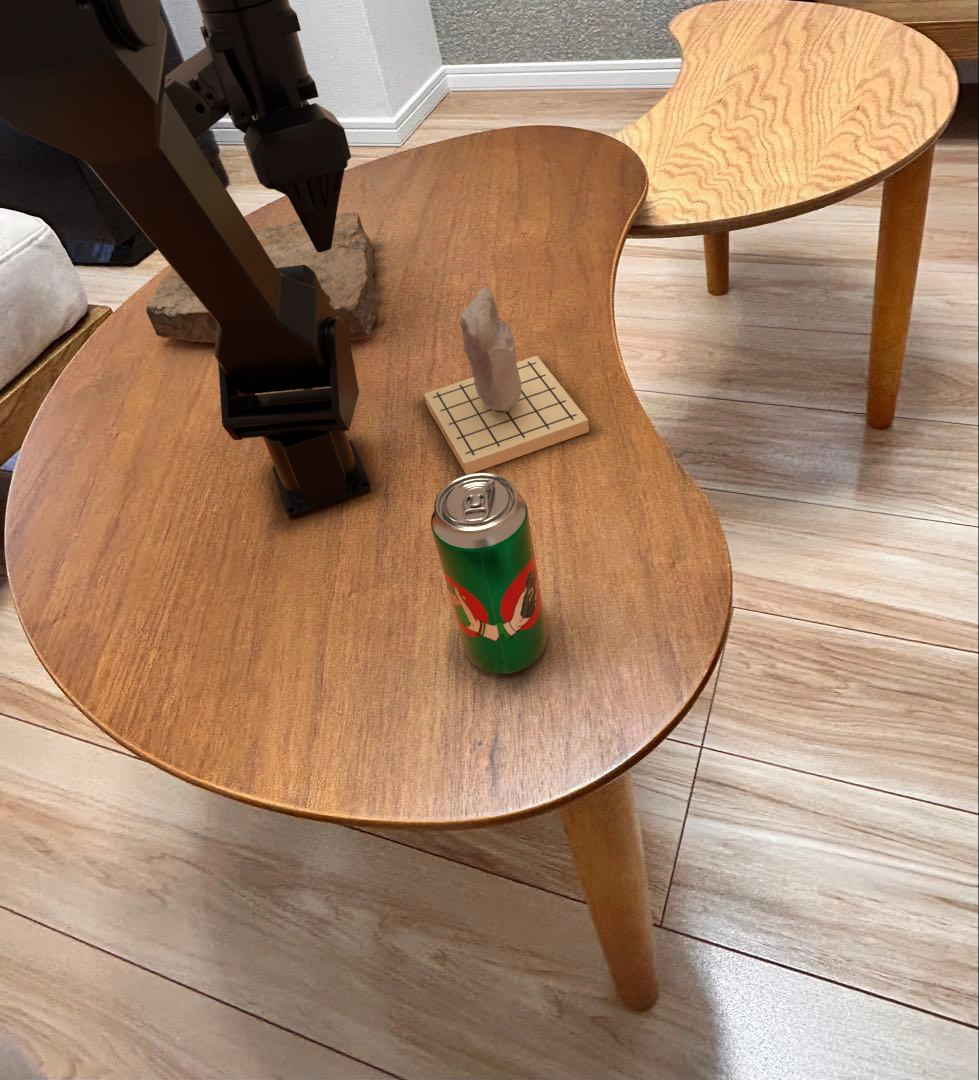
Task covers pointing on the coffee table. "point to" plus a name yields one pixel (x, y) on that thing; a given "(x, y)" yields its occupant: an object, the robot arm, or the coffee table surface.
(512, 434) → the board
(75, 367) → the coffee table surface
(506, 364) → the fossil
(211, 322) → the stone
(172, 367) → the coffee table surface
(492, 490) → the soda can
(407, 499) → the coffee table surface
